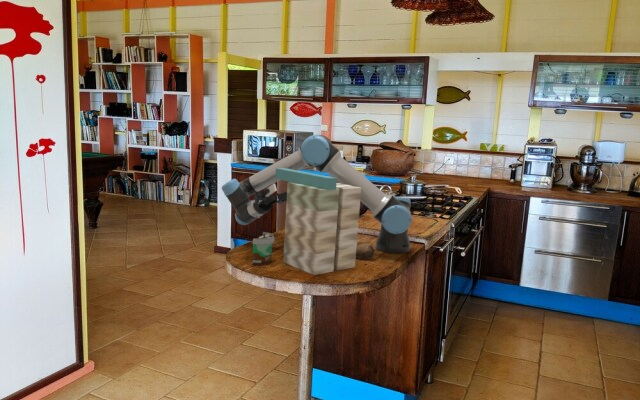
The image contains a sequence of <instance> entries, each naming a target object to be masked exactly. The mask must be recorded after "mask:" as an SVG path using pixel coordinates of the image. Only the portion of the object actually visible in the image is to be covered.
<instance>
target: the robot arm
mask: <svg viewBox="0 0 640 400" xmlns="http://www.w3.org/2000/svg"><path fill="white" fill-rule="evenodd" d="M312 166H313V167H314V168H315V169H317V170H318V171H319V172H320V173H321V174H328V175H329V177H334V178H337V183H340V184H345V185H350V186H355V187H360V188H361V197H360V203H362V204H363V205H365V206H366V207H367V209H369V210H371V212H372V217H373V218H374V219H375V220H376V221H378V222H379V223H380V231H379V233H378V236H377V238H376V240H375V247H374V249H376V250H379V251H381V252H384V253H392V254H405V253H409V252H410V251H411V242H410V238H409V233H408V231H409V228H410V226H411V224H412V221H413V220H412V219H413V215H412V213H411V211H410V210H411V205H412V204H411V199H410V198H409V197H402V196H394V195H393V194H386V193H385V192H383V191H382V190H381V189H380V188H379V187H378V186H376V185H375V184H374V183H373V182H371V180H369V179H368V178H367V177H366V176H365V175H363V174H362V173H361V172H360V171H358V169H357V168H355V167H354V166H352V165H351V164H350V163H349V162H348V161H347V160H345V159H344V158H343V157H342V154H341V151H340V149H339V148H337V147H336V146H335V145H334V144H333V143H332V140H331V139H330V138H328V136H326V135H323V134H313V135H309V136H308V137H306V138H305V139H304V141H303V142H302V144H301V145H300V146H299V147H298V150H296V151H294V152H293V153H291V154H289V155H287V156H286V157H284V158H282V159H280V160H278V161H276V162H274V163H273V164H271V165H269V166H267V167H266V168H264V169H261V170H260V171H258V172H256V173H255V174H253V175H251V176H249V177H247V178H245V179H243V180H241V181H240V182H239V181H238V179H236V178H232V179H230V180H229V181H227V182H225V183H224V184H222V185H221V190H222V192H223V194H224V196H226V198H227V200H228V202H229V203H230V204H231V206H232V207H233V209H234V211H235V213H234V218H235V221H236V222H237V223H238V225H241V226H247V225H249V224H252V223H253V222H254V221H256V220H258V219H260V218H261V217H262V216H263V215H265V214H267V213H269V212H270V211H272V209H273V207H274V205H276V204H283V203H285V202H287V191H285V192H282V193H275V192H277V191H278V190H277V186H276V185H277V184H276V183H277V182H279V181H280V180H279V179H275V174H276V168H286V169H291V170H297V171H301V170H302V169H303V168H305V167H312ZM274 193H275V194H274ZM253 195H254V197H253V198H252V200H251V199H250V197H252V196H253Z"/></svg>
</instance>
